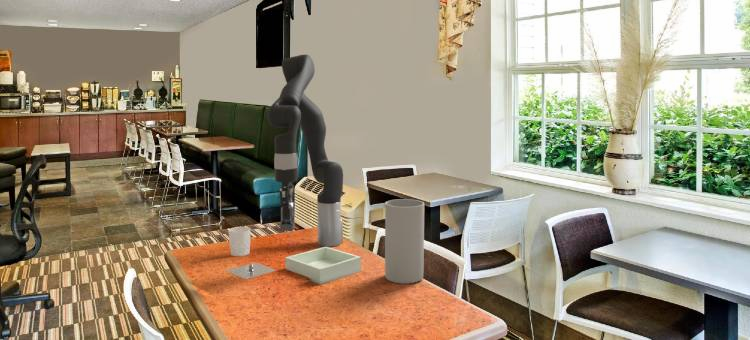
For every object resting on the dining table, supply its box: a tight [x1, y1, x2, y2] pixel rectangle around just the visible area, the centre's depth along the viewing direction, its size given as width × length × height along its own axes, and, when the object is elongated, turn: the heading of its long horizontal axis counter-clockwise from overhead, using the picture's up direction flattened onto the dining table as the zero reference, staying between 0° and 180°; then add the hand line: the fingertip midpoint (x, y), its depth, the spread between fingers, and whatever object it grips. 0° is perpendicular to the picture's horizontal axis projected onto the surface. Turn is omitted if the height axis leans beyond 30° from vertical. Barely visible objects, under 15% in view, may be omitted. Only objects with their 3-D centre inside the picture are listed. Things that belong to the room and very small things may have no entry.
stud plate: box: [226, 262, 277, 280], centre depth 180 cm, size 12×12×3 cm
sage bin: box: [284, 246, 362, 286], centre depth 182 cm, size 18×18×5 cm
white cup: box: [228, 226, 251, 257], centre depth 199 cm, size 8×8×10 cm
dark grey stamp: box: [279, 200, 296, 232], centre depth 179 cm, size 4×4×9 cm
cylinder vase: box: [384, 198, 425, 285], centre depth 174 cm, size 12×12×25 cm
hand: (287, 217), depth 179 cm, fingers closed on dark grey stamp, 4 cm apart
